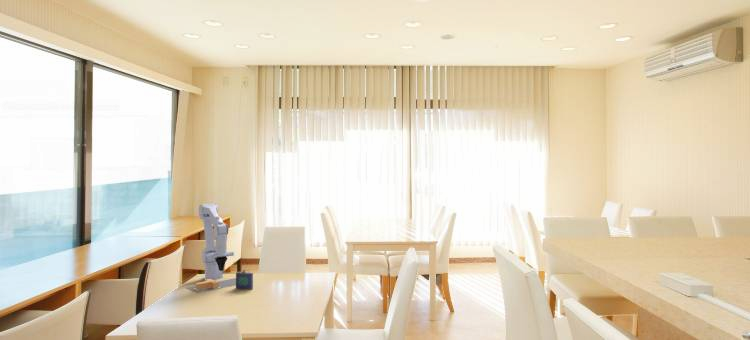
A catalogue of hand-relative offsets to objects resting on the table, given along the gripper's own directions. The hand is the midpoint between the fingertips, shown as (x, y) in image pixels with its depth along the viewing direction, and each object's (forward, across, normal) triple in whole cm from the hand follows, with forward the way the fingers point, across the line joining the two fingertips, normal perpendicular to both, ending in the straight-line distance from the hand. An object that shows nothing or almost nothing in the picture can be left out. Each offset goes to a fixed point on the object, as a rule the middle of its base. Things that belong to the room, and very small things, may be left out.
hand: (221, 270), depth 253 cm
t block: (+8, -9, 0) cm, 12 cm away
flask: (+8, +5, -16) cm, 19 cm away
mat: (+8, -2, 0) cm, 8 cm away
